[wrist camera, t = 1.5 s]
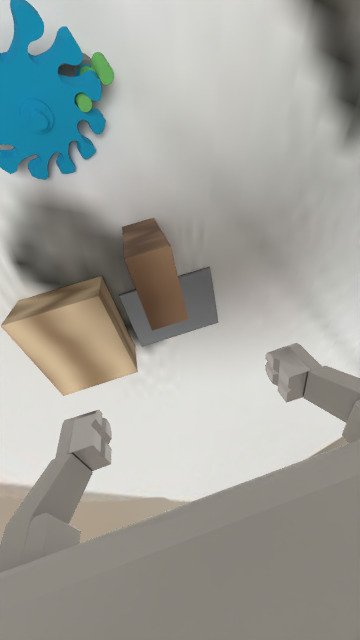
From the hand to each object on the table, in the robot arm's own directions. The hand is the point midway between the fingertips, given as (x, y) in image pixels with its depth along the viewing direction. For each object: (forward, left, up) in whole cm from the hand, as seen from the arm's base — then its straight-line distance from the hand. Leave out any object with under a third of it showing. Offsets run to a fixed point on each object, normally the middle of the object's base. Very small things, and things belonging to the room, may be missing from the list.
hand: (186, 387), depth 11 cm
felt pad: (-1, +9, -20) cm, 22 cm away
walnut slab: (0, 0, -20) cm, 20 cm away
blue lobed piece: (+4, -13, -20) cm, 24 cm away
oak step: (+11, +7, -20) cm, 24 cm away
